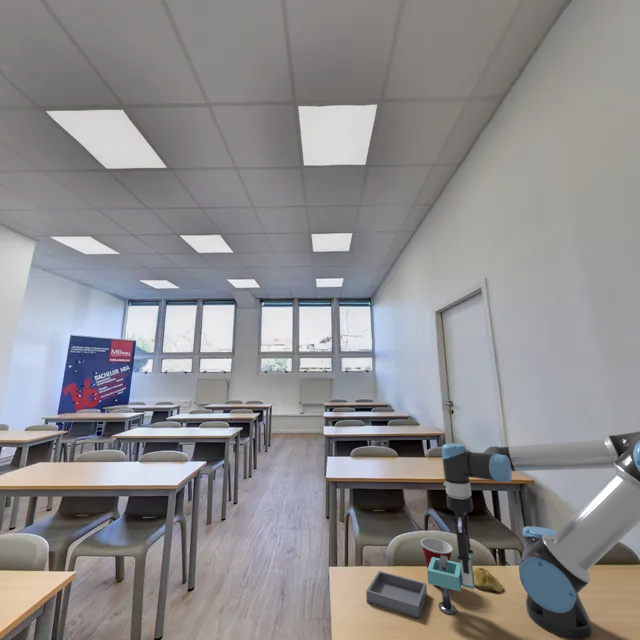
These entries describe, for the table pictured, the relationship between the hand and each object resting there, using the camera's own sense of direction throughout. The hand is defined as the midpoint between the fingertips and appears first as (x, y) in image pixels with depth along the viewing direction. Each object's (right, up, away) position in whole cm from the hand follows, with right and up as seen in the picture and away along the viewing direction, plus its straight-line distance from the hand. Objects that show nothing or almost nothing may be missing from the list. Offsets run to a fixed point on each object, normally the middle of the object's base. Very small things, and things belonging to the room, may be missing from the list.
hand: (468, 581), depth 93 cm
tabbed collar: (-4, -2, +2) cm, 5 cm away
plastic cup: (-3, -13, +14) cm, 19 cm away
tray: (-20, -11, +6) cm, 24 cm away
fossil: (+12, -13, +13) cm, 22 cm away
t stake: (-6, -10, +1) cm, 11 cm away
